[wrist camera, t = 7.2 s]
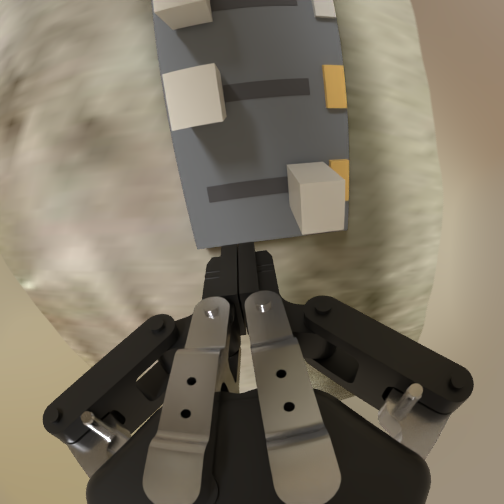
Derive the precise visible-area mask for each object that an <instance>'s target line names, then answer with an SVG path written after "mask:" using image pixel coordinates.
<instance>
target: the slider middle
mask: <svg viewBox="0 0 504 504" xmlns="http://www.w3.org/2000/svg"><path fill="white" fill-rule="evenodd" d="M162 77H163V83H164V89H165V95H166V101H167V107H168V113H169V118H170V123H171V129H172V131H175V130H179V129H184V128H189V127H194V126H199V125H205V124H210V123H216V122H222V121H224V119H225V118H226V117H227V115H226V108H225V102H224V95H223V88H222V81H221V75H220V71H219V69H218V68H217V66H216V65H215V63H211V64H206V65H200V66H195V67H191V68H186V69H182V70H177V71H173V72H169V73H165V74H162Z"/></svg>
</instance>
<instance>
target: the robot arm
mask: <svg viewBox="0 0 504 504" xmlns="http://www.w3.org/2000/svg"><path fill="white" fill-rule="evenodd" d="M246 328H247V332H248V334H249V337H250V343H251V354H252V360H253V366H254V372H255V378H256V384H257V389H254V390H251V391H248V392H245V393H239V379H240V362H241V347H240V345H241V337H240V335H246ZM304 359H305V361H306V362H307V363H308V364H310V365H311V366H312V367H314V368H315V369H317V370H318V371H320V372H321V373H323V374H324V375H326V376H327V377H328V378H330V379H331V380H333V381H334V382H336V383H337V384H339V385H340V386H342V387H343V388H345V389H346V390H348V391H350V392H351V393H353V394H354V395H356V396H357V397H359V398H360V399H362V400H363V401H365V402H367V403H368V404H370V405H371V406H373V407H375V408H376V409H378V410H379V413H378V420H379V422H380V425H381V426H382V427H383V428H384V429H385V430H386V431H387V432H388V433H389V434H390V436H389V435H388V434H386V433H385V432H383V431H382V430H380V429H379V428H377V427H376V426H374V425H373V424H372V423H370V422H369V421H367V420H366V419H364V418H363V417H362V416H360V415H359V414H357V413H356V412H355V411H353V410H352V409H350V408H349V407H348V406H346V405H345V404H343V403H342V402H341V401H339V400H338V399H337V398H335V397H334V396H332V395H330V394H328V393H326V392H324V391H321V390H317V389H313V387H312V384H311V381H310V378H309V374H308V371H307V368H306V365H305V362H304ZM156 360H158V362H157V363H156V364H155V365H154V366H153V367H152V368H151V369H150V370H149V371H148V372H147V373H146V374H144V375H143V376H142V377H141V378H140V379H139V380H138V381H137V382H136V380H137V378H138V377H139V376H140V375H141V374H142V373H143V372H144V371H145V370H147V369H148V368H149V367H150V366H151V365H152V364H153V363H154V362H155V361H156ZM473 385H474V384H473V378H472V376H471V374H470V372H469V371H468V370H467V369H466V368H464V367H462V366H461V365H459V364H457V363H455V362H453V361H451V360H449V359H447V358H446V357H444V356H442V355H440V354H438V353H436V352H434V351H432V350H430V349H429V348H427V347H425V346H423V345H421V344H419V343H417V342H415V341H413V340H412V339H410V338H408V337H406V336H404V335H402V334H400V333H398V332H397V331H395V330H393V329H391V328H389V327H387V326H385V325H383V324H382V323H380V322H378V321H376V320H374V319H372V318H370V317H368V316H367V315H365V314H363V313H361V312H359V311H357V310H355V309H353V308H352V307H350V306H348V305H346V304H344V303H342V302H340V301H338V300H337V299H335V298H332V297H329V296H316V297H313V298H311V299H310V300H308V301H307V302H306V304H305V305H300V304H293V303H290V302H287V301H286V300H284V299H283V298H282V297H281V295H280V293H279V289H278V284H277V279H276V274H275V269H274V264H273V259H272V256H271V255H270V254H269V253H268V252H267V251H266V250H265V251H257V252H255V247H254V241H252V242H245V243H238V245H237V244H231V245H224V246H222V247H221V257H213V258H211V260H210V261H209V262H208V264H207V267H206V274H205V281H204V288H203V296H202V301H200V302H199V303H198V304H197V305H196V306H195V308H194V312H193V314H192V315H190V316H188V317H186V318H183V319H180V320H177V321H174V319H173V318H172V317H171V316H169V315H166V314H159V315H155V316H153V317H151V318H149V319H148V320H147V321H145V322H144V323H143V324H142V325H141V326H140V327H138V328H137V329H136V330H135V331H134V332H132V333H131V334H130V335H129V336H128V337H127V338H125V339H124V340H123V341H122V342H121V343H120V344H118V345H117V346H116V347H115V348H114V349H113V350H111V351H110V352H109V353H108V354H107V355H106V356H104V357H103V358H102V359H101V360H100V361H99V362H98V363H96V364H95V365H94V366H93V367H92V368H91V369H90V370H88V371H87V372H86V373H85V374H84V375H83V376H82V377H80V378H79V379H78V380H77V381H76V382H75V383H74V384H72V385H71V386H70V387H69V388H68V389H67V390H66V391H64V392H63V393H62V394H61V395H60V396H59V397H58V398H56V399H55V400H54V401H53V402H52V403H51V404H50V405H49V406H48V407H47V408H46V410H45V412H44V414H43V425H44V427H45V429H46V430H47V431H48V432H49V433H51V434H52V435H54V436H55V437H57V438H58V439H60V440H61V441H62V442H63V443H65V444H66V445H67V446H68V447H69V449H70V450H71V452H72V454H73V455H74V457H75V458H76V459H77V461H78V463H79V464H80V465H81V467H82V468H83V470H84V471H85V472H86V474H87V475H88V476H89V478H90V480H89V482H88V484H87V489H86V499H87V504H425V502H426V499H427V496H428V493H429V489H430V484H431V475H430V470H429V468H428V466H427V463H426V462H425V459H426V457H427V456H428V454H429V453H430V451H431V449H432V448H433V446H434V444H435V443H436V441H437V439H438V437H439V436H440V434H441V432H442V430H443V428H444V426H445V424H446V422H447V420H448V419H449V417H450V415H451V414H452V413H453V412H454V411H455V410H456V409H457V408H458V407H459V406H460V405H461V404H462V403H464V402H465V400H466V399H467V398H468V397H469V396H470V395H471V393H472V391H473ZM162 404H163V406H162V407H161V408H160V409H158V408H159V407H160V406H161V405H162ZM157 409H158V410H157ZM156 410H157V411H156ZM155 411H156V412H155ZM154 412H155V413H154ZM153 413H154V414H153ZM152 414H153V415H152ZM151 415H152V416H151ZM150 416H151V417H150ZM149 417H150V418H149ZM148 418H149V419H148ZM146 419H148V420H147V422H145V423H144V425H142V427H140V429H138V431H137V432H136V433H135V434H134V435H133V436H132V437H131V434H132V433H133V432H134V431H135V430H136V429H137V428H138V427H139V426H140V425H141V424H142V423H143V422H144V421H146Z"/></svg>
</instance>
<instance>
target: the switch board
mask: <svg viewBox="0 0 504 504" xmlns="http://www.w3.org/2000/svg"><path fill="white" fill-rule="evenodd" d="M151 1H152V11H153V21H154V30H155V38H156V46H157V53H158V60H159V67H160V74H161V80H162V87H163V93H164V99H165V104H166V110H167V116H168V121H169V126H170V132H171V137H172V142H173V147H174V152H175V156H176V161H177V166H178V170H179V175H180V180H181V184H182V188H183V193H184V197H185V201H186V206H187V210H188V214H189V218H190V222H191V226H192V230H193V234H194V238H195V242H196V246H197V249H204V248H211V247H218V246H224V245H231V244H238V243H245V242H252V241H254V242H256V241H264V240H272V239H280V238H288V237H296V236H304V235H302V233H301V231H300V228H299V226H298V224H297V221H296V219H295V217H294V215H293V212H292V210H291V208H290V203H289V189H288V176H287V165H289V164H299V163H311V162H324V163H325V164H327V165H328V166H329V167H330V168H331V169H333V170H334V171H335V172H336V173H337V174H339V175H340V176H341V177H342V178H343V179H344V180H345V217H344V230H347V229H348V206H349V136H348V115H347V100H346V87H345V77H344V67H343V59H342V51H341V44H340V37H339V31H338V25H337V19H336V14H335V8H334V3H333V0H210V5H211V12H212V19H213V22H208V23H203V24H198V25H193V26H188V27H184V28H179V29H175V30H172V29H171V28H170V27H169V26H168V25H167V24H166V23H165V22H164V21H163V20H162V19H161V18H160V17H159V16H157V15H156V14H155V13H154V6H153V0H151ZM211 63H215V65H216V66H217V68H218V69H219V71H220V75H221V81H222V88H223V95H224V102H225V108H226V115H227V117H226V118H225V119H224V121H222V122H216V123H210V124H205V125H199V126H194V127H189V128H184V129H179V130H175V131H172V129H171V123H170V118H169V113H168V107H167V101H166V95H165V89H164V83H163V77H162V74H165V73H169V72H173V71H177V70H182V69H186V68H191V67H195V66H200V65H206V64H211ZM344 230H337V231H344ZM329 232H336V231H329ZM321 233H328V232H321ZM313 234H320V233H313ZM305 235H312V234H305Z"/></svg>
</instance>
